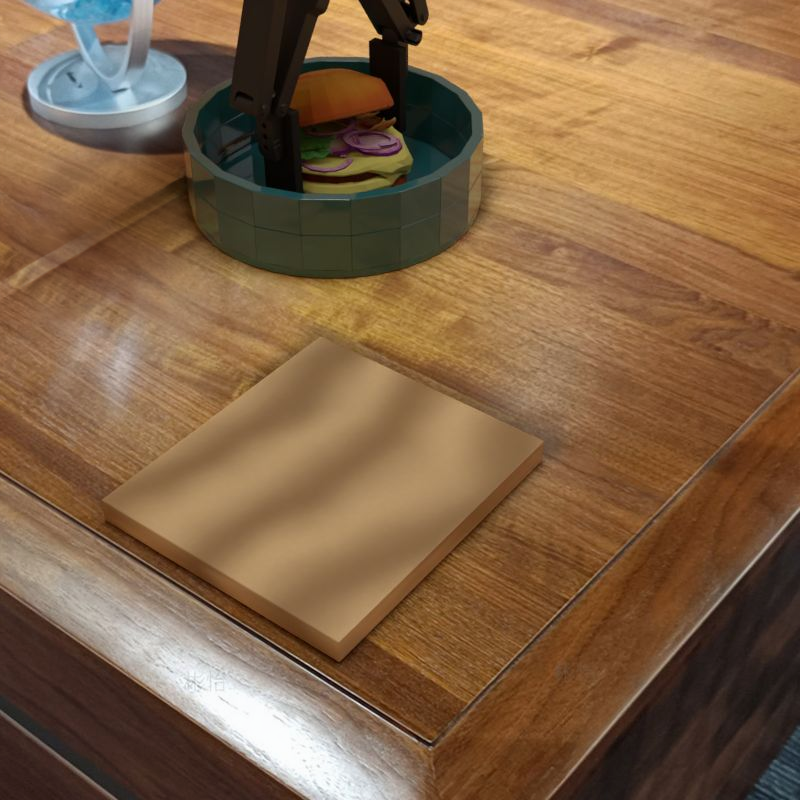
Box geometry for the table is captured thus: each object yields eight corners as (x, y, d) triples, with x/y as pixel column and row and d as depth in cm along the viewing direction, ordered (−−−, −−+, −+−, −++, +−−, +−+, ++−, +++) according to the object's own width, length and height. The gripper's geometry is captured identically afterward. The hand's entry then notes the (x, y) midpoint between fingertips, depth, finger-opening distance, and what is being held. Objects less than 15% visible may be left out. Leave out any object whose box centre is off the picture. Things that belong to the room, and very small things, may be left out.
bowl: (131, 211, 96) (120, 135, 92) (317, 103, 108) (314, 32, 104) (359, 315, 86) (358, 235, 82) (534, 183, 99) (540, 108, 95)
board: (104, 520, 72) (100, 499, 71) (321, 355, 83) (320, 335, 82) (339, 663, 64) (338, 642, 63) (542, 460, 75) (544, 440, 74)
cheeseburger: (301, 246, 91) (278, 99, 86) (252, 205, 100) (229, 71, 95) (437, 211, 94) (422, 68, 89) (378, 175, 103) (362, 43, 98)
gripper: (242, -94, 73) (269, 250, 87) (486, -199, 87) (476, 111, 101) (142, -122, 76) (184, 213, 90) (393, -219, 90) (395, 83, 104)
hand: (338, 159), depth 95 cm, fingers closed on cheeseburger, 11 cm apart
